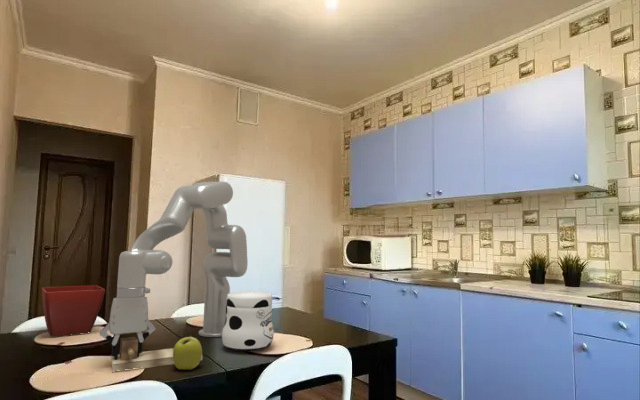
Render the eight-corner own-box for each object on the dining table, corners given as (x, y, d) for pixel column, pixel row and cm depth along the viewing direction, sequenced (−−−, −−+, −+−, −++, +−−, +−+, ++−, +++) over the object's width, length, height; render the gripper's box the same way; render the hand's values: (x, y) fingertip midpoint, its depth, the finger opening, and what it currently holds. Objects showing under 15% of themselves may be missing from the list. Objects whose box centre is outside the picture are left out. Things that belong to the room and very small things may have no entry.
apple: (192, 357, 116) (198, 326, 115) (203, 372, 110) (209, 339, 109) (165, 362, 111) (171, 330, 110) (175, 378, 105) (181, 344, 104)
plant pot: (93, 325, 163) (96, 284, 164) (102, 334, 148) (105, 289, 150) (37, 331, 151) (41, 287, 153) (40, 341, 136) (45, 292, 138)
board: (194, 352, 126) (194, 345, 126) (202, 360, 117) (202, 353, 117) (110, 362, 113) (111, 355, 114) (112, 372, 105) (113, 364, 105)
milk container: (281, 351, 128) (282, 295, 130) (229, 358, 120) (232, 298, 122) (262, 339, 143) (264, 290, 145) (215, 344, 135) (218, 292, 137)
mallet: (134, 354, 115) (135, 336, 116) (139, 362, 107) (140, 344, 108) (119, 356, 113) (120, 338, 114) (123, 364, 105) (124, 345, 106)
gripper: (159, 290, 122) (156, 350, 120) (97, 293, 113) (92, 357, 111) (163, 293, 115) (160, 356, 113) (98, 296, 106) (92, 365, 104)
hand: (126, 356), depth 112 cm, fingers open, 5 cm apart
